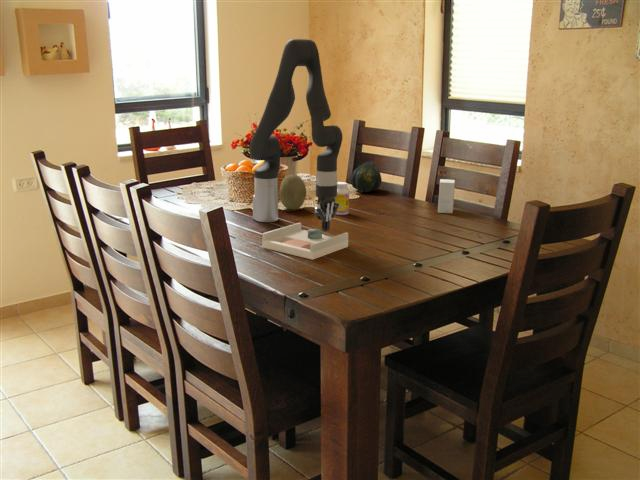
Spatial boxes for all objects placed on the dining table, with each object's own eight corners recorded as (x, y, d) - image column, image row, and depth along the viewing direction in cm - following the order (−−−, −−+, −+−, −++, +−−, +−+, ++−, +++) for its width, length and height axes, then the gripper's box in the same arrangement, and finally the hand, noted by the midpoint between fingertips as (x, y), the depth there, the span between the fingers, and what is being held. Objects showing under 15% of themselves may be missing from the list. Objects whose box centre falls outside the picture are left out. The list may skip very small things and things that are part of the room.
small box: (452, 213, 298) (455, 183, 295) (437, 212, 299) (439, 182, 296) (453, 209, 306) (455, 179, 302) (438, 208, 307) (439, 178, 303)
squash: (343, 181, 333) (365, 158, 329) (347, 177, 348) (368, 155, 343) (365, 202, 334) (387, 180, 330) (368, 197, 348) (389, 175, 344)
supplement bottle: (347, 215, 292) (347, 185, 288) (331, 214, 293) (331, 184, 289) (349, 212, 298) (350, 181, 294) (334, 211, 299) (334, 181, 296)
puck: (304, 237, 249) (304, 230, 249) (313, 234, 253) (313, 227, 253) (316, 240, 246) (316, 233, 246) (324, 237, 250) (324, 230, 250)
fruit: (311, 208, 303) (311, 173, 299) (296, 213, 294) (296, 177, 290) (289, 205, 309) (289, 170, 305) (273, 209, 300) (273, 174, 296)
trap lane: (262, 247, 246) (262, 233, 244) (299, 235, 261) (299, 222, 260) (312, 259, 233) (312, 244, 232) (348, 246, 248) (348, 232, 247)
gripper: (329, 179, 257) (328, 225, 262) (306, 184, 247) (306, 232, 252) (346, 181, 253) (345, 228, 258) (323, 187, 243) (322, 236, 248)
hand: (325, 230), depth 255 cm, fingers closed
